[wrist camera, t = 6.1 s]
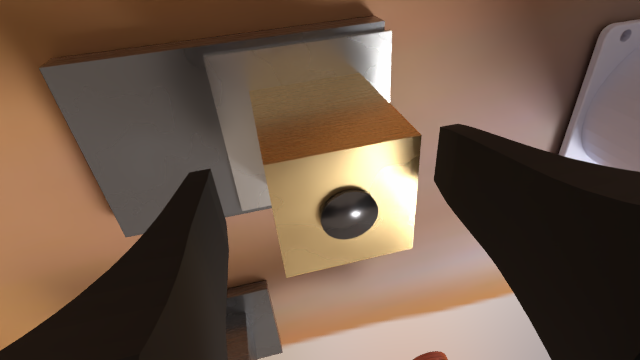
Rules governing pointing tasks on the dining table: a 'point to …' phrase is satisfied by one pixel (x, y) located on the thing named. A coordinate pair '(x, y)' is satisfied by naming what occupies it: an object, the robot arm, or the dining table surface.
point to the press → (203, 126)
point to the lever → (432, 356)
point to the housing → (336, 171)
